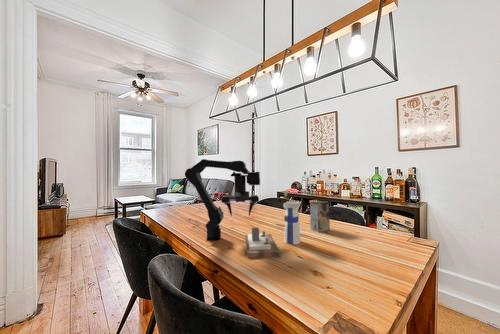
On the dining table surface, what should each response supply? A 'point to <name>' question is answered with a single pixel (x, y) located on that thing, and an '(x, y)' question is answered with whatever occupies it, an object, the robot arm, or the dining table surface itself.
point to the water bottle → (291, 222)
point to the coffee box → (319, 216)
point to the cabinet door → (257, 240)
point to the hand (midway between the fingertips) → (240, 215)
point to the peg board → (266, 252)
